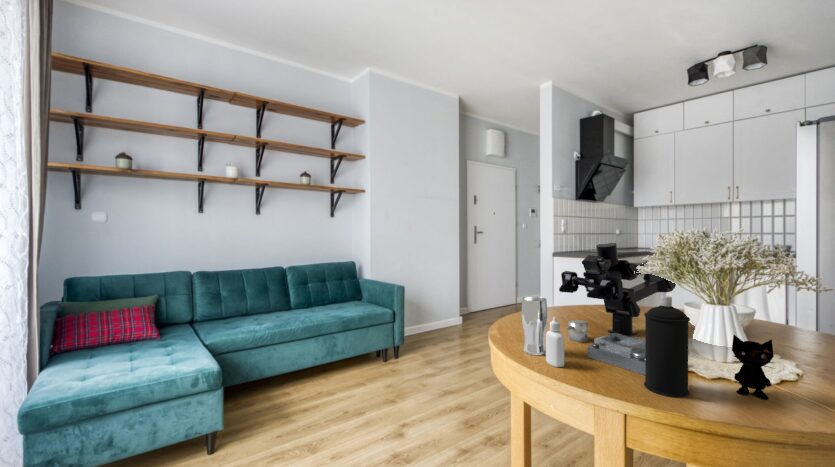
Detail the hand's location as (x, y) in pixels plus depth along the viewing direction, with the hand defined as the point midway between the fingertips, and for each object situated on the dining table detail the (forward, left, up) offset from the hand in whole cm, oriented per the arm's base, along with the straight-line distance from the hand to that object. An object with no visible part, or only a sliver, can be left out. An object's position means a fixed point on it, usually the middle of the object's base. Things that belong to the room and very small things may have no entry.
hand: (573, 292), depth 110 cm
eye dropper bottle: (+16, +6, -16) cm, 23 cm away
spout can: (-6, -3, -16) cm, 17 cm away
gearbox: (-2, +16, -16) cm, 22 cm away
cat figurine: (-3, +40, -16) cm, 43 cm away
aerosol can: (+9, +29, -16) cm, 34 cm away
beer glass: (+13, -3, -16) cm, 21 cm away
